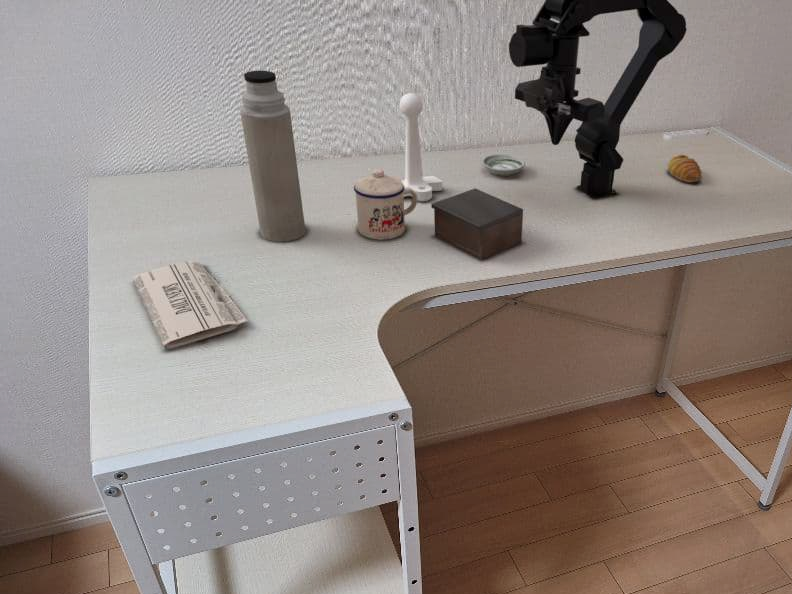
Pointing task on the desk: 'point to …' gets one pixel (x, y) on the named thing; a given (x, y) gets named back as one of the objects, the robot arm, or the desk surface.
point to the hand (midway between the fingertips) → (555, 144)
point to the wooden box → (479, 235)
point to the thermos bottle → (272, 158)
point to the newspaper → (186, 303)
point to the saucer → (503, 164)
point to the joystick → (415, 152)
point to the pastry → (684, 168)
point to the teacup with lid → (381, 205)
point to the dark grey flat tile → (477, 209)
